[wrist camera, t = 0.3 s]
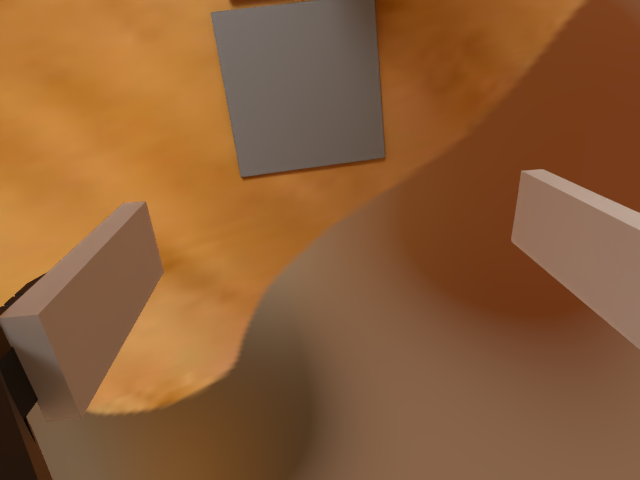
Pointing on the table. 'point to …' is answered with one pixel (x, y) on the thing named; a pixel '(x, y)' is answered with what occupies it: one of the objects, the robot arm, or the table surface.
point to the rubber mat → (301, 84)
